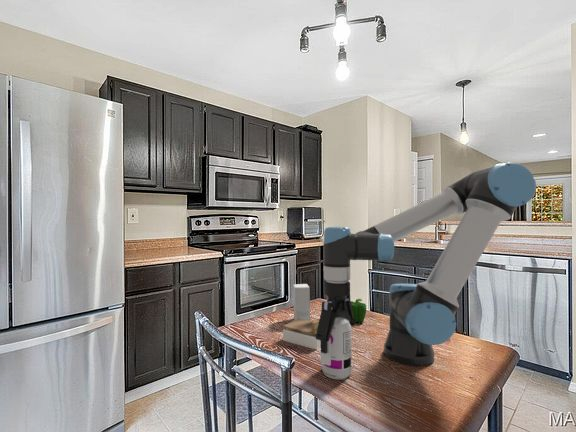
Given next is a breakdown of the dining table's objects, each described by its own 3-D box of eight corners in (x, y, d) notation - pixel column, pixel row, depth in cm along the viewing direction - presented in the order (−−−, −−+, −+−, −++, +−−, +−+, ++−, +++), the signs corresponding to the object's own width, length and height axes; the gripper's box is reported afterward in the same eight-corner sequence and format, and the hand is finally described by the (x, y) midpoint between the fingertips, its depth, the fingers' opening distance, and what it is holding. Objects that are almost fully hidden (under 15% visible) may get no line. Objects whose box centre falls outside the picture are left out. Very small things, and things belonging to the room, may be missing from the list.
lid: (330, 327, 112) (330, 317, 112) (317, 336, 104) (317, 325, 104) (298, 320, 120) (298, 310, 120) (283, 328, 112) (283, 317, 112)
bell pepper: (342, 320, 136) (342, 297, 136) (356, 317, 140) (356, 294, 140) (354, 325, 129) (354, 301, 129) (369, 322, 133) (369, 299, 133)
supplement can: (328, 382, 84) (329, 326, 84) (318, 368, 92) (318, 317, 92) (356, 378, 86) (356, 324, 86) (343, 365, 94) (343, 315, 94)
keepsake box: (330, 341, 112) (330, 329, 112) (317, 350, 104) (317, 337, 104) (298, 333, 120) (298, 321, 120) (283, 341, 112) (283, 329, 112)
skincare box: (310, 324, 130) (310, 287, 130) (294, 325, 129) (294, 287, 129) (307, 318, 138) (307, 283, 138) (292, 318, 138) (292, 283, 138)
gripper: (343, 273, 102) (342, 338, 102) (302, 286, 81) (302, 368, 81) (365, 275, 97) (365, 343, 97) (328, 290, 77) (328, 376, 77)
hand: (336, 355), depth 89 cm, fingers open, 13 cm apart
